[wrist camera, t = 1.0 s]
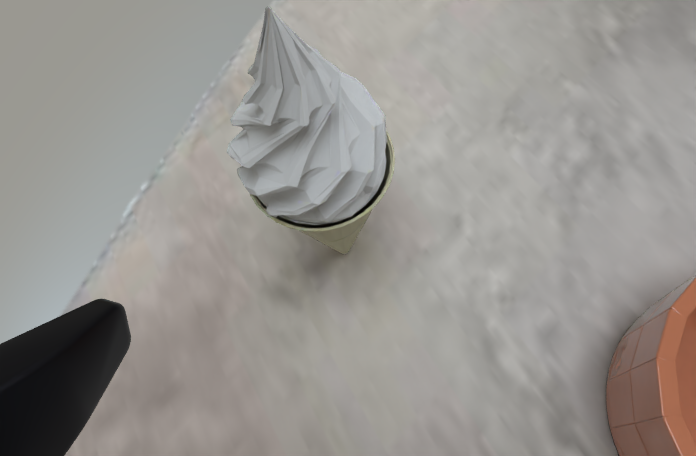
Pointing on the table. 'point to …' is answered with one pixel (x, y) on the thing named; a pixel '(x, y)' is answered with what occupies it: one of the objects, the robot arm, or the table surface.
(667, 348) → the bowl
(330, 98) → the ice cream cone
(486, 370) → the table surface
